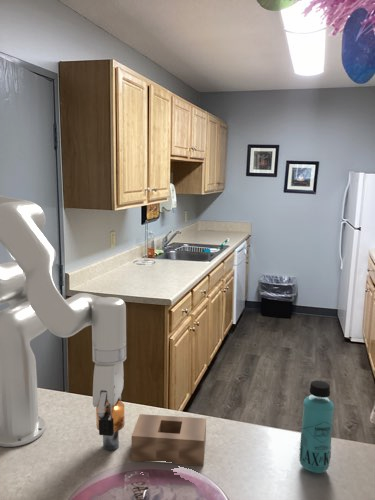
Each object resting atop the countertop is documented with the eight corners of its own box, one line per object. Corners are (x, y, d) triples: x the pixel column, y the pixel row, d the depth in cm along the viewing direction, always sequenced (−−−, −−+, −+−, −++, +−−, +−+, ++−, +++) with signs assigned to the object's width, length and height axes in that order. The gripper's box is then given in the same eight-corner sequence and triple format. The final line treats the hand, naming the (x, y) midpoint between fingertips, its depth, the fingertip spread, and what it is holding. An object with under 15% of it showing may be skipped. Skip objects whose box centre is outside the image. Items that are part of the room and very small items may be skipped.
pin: (93, 454, 97) (92, 413, 96) (101, 437, 104) (100, 399, 102) (120, 456, 97) (120, 415, 95) (127, 439, 103) (127, 400, 101)
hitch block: (131, 460, 95) (131, 435, 94) (139, 437, 104) (139, 414, 103) (203, 466, 94) (204, 440, 93) (205, 441, 103) (206, 418, 102)
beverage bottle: (292, 464, 95) (297, 379, 92) (316, 457, 97) (321, 374, 94) (311, 483, 89) (317, 393, 86) (336, 475, 91) (343, 387, 88)
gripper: (104, 338, 105) (105, 405, 108) (80, 367, 88) (82, 447, 91) (134, 339, 105) (134, 407, 107) (115, 369, 88) (117, 449, 90)
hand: (110, 425), depth 99 cm, fingers closed on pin, 6 cm apart
